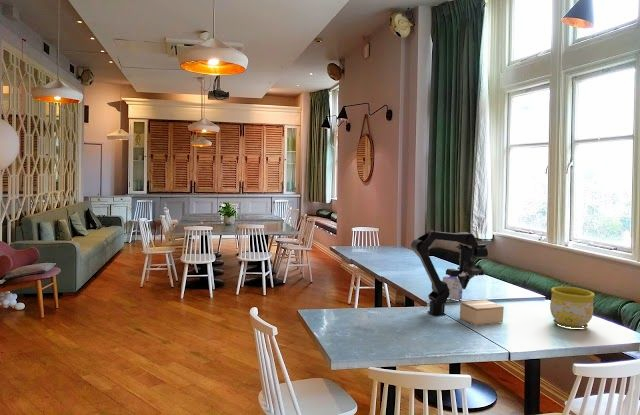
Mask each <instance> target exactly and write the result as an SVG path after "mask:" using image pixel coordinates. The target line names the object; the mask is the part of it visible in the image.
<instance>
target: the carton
mask: <svg viewBox="0 0 640 415" xmlns="http://www.w3.org/2000/svg"><path fill="white" fill-rule="evenodd" d="M459 305H460V307H459V319H460V320H463V321H465V322H467V323H469V322H470V323H469V324H471V323H472V325H473V324H474V325H473V326H475V325H478V326H482V325H481V324H486V325H491V324H490V323H495V324H500V323H499V322H504V310H505V309H504V308H496V309H483V310H476V309H473V308H471V307H469V306H466V305H464V304H462V303H460V304H459Z"/></svg>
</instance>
